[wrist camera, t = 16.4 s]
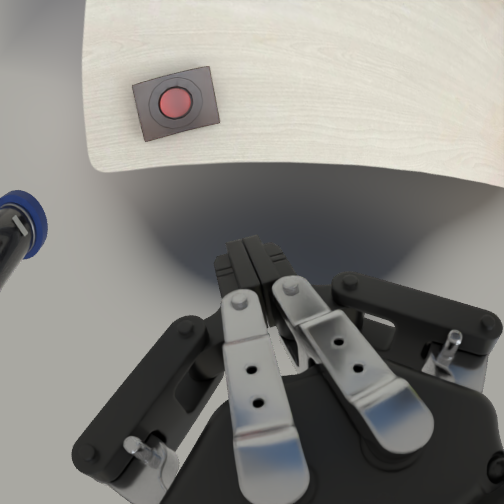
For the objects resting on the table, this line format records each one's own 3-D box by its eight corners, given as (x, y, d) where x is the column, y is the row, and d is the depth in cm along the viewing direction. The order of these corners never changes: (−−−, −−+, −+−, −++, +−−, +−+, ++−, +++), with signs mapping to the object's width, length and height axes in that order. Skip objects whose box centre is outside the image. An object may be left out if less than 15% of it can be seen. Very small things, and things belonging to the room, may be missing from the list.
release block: (147, 140, 35) (143, 144, 32) (134, 86, 31) (129, 84, 28) (218, 121, 36) (221, 124, 33) (207, 67, 32) (210, 64, 29)
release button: (164, 120, 31) (163, 121, 30) (158, 93, 29) (157, 92, 28) (192, 112, 32) (193, 113, 30) (187, 86, 30) (187, 85, 28)
